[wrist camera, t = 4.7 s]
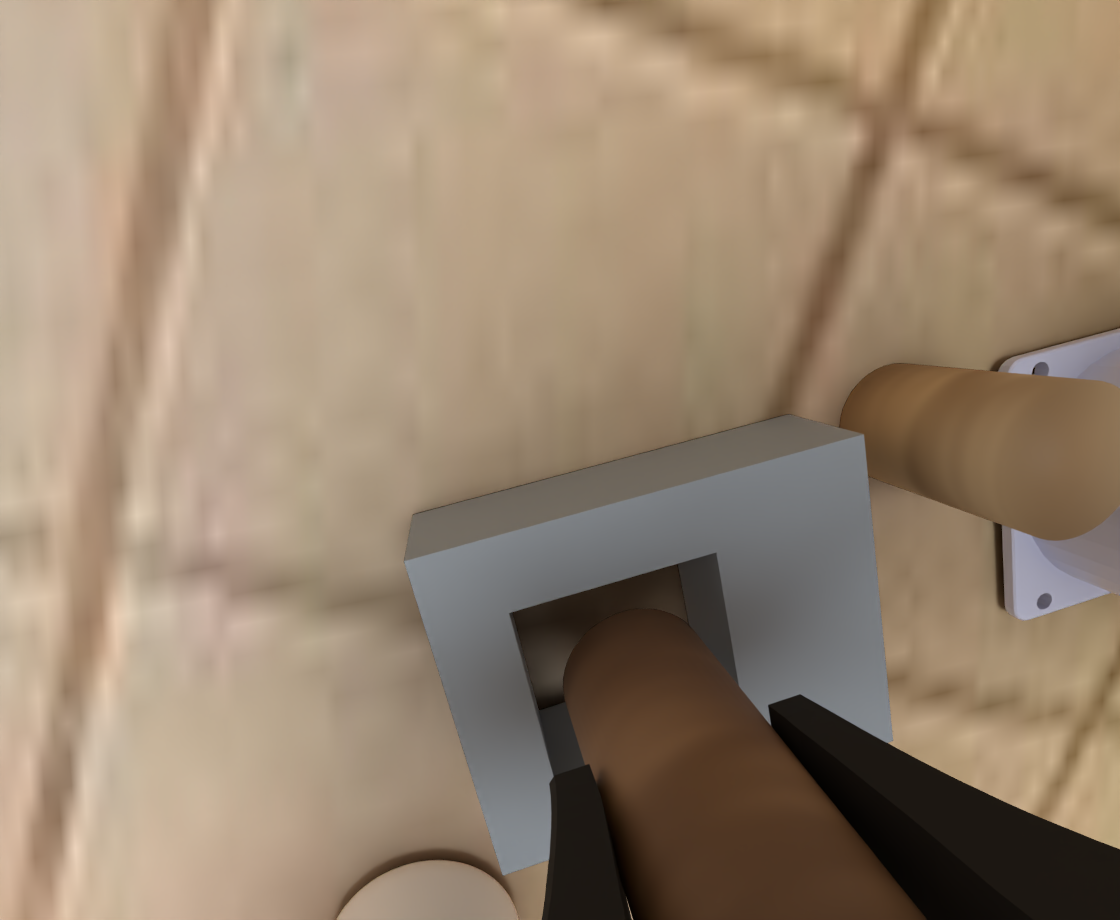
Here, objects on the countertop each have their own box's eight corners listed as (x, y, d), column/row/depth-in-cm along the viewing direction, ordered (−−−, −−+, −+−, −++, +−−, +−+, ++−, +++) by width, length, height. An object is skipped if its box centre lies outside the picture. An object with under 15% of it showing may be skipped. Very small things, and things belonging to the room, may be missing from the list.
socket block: (788, 414, 16) (863, 434, 13) (821, 673, 18) (893, 740, 15) (412, 514, 15) (404, 561, 12) (493, 780, 17) (502, 875, 14)
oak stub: (940, 351, 16) (1145, 362, 12) (947, 462, 17) (1141, 516, 12) (833, 379, 16) (999, 403, 11) (845, 492, 17) (1005, 559, 12)
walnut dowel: (698, 592, 13) (1075, 996, 5) (713, 722, 14) (1059, 1237, 6) (551, 628, 12) (721, 1128, 5) (576, 759, 13) (756, 1371, 5)
